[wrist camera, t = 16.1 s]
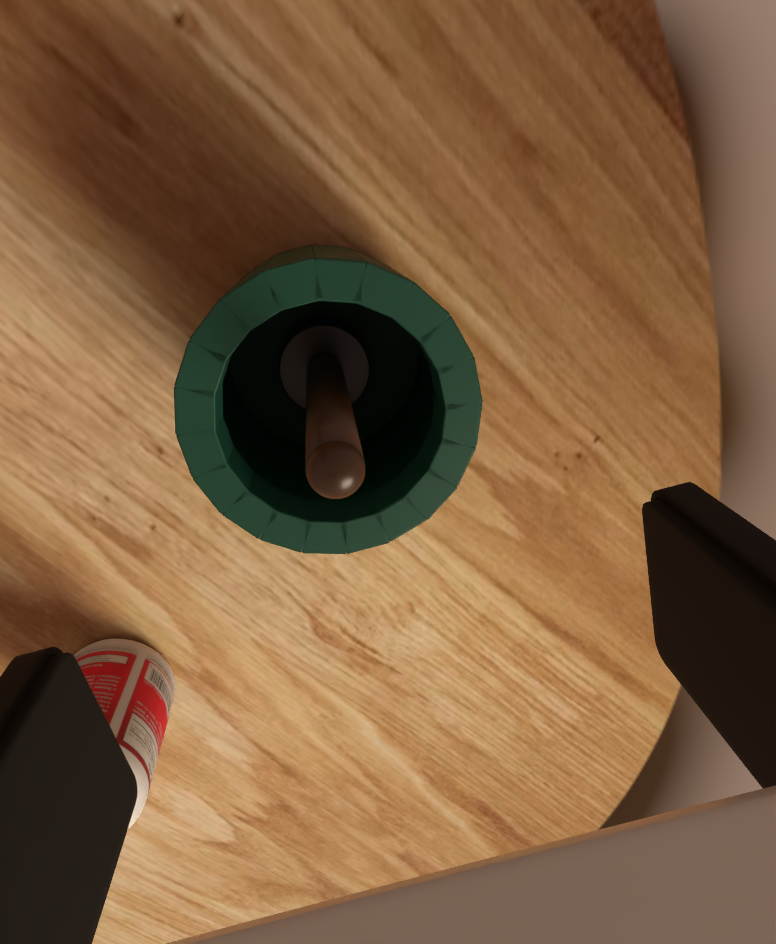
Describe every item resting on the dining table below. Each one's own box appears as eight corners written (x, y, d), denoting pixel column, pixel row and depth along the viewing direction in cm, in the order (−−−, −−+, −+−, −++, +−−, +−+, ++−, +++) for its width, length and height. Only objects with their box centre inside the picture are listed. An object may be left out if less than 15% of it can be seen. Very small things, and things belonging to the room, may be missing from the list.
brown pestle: (353, 305, 31) (394, 386, 16) (373, 386, 32) (428, 528, 18) (270, 326, 31) (236, 427, 16) (294, 406, 32) (283, 566, 18)
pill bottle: (44, 694, 37) (-56, 874, 27) (98, 615, 36) (14, 775, 26) (143, 738, 39) (85, 923, 29) (198, 665, 38) (158, 832, 28)
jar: (402, 220, 30) (449, 222, 20) (445, 425, 34) (503, 513, 24) (187, 275, 30) (126, 305, 20) (254, 475, 34) (232, 585, 24)
